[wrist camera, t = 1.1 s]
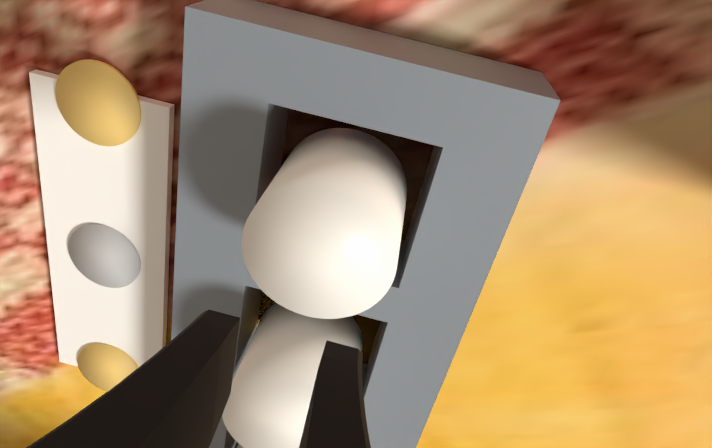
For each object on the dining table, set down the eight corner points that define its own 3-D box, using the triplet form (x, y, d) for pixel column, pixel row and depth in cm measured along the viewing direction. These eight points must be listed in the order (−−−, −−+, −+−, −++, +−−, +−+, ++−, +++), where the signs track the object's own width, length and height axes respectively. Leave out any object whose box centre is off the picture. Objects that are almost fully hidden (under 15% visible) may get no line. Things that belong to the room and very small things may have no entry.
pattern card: (164, 396, 26) (159, 405, 26) (66, 370, 26) (59, 378, 26) (175, 76, 18) (168, 80, 18) (34, 40, 18) (22, 43, 18)
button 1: (390, 255, 18) (377, 334, 15) (274, 225, 18) (234, 297, 15) (422, 146, 16) (415, 208, 12) (292, 113, 16) (250, 166, 13)
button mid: (351, 387, 21) (333, 478, 18) (253, 362, 21) (217, 446, 18) (373, 311, 19) (358, 397, 16) (265, 283, 19) (227, 362, 16)
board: (542, 72, 16) (560, 100, 14) (378, 493, 27) (371, 552, 25) (225, -8, 17) (185, 6, 14) (190, 442, 28) (164, 497, 25)
